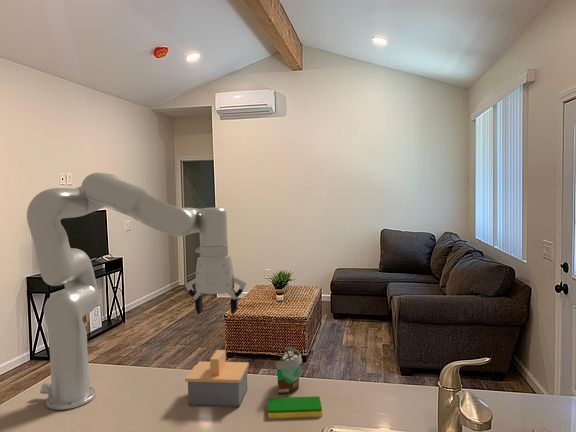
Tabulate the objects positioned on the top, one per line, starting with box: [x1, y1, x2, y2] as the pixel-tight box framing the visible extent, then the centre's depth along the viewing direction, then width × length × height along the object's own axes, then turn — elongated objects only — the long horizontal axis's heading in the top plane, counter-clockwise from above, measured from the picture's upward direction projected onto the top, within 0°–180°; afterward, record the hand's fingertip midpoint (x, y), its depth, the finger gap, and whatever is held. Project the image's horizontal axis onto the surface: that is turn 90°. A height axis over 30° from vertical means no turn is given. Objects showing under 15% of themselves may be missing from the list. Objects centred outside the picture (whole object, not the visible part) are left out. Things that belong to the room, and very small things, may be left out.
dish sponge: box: [267, 395, 323, 419], centre depth 113 cm, size 7×14×2 cm, turn 91°
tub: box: [187, 369, 248, 409], centre depth 121 cm, size 14×11×7 cm
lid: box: [184, 349, 250, 383], centre depth 121 cm, size 15×12×6 cm
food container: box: [276, 347, 303, 396], centre depth 126 cm, size 12×6×10 cm, turn 168°
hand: (216, 312), depth 120 cm, fingers open, 9 cm apart
